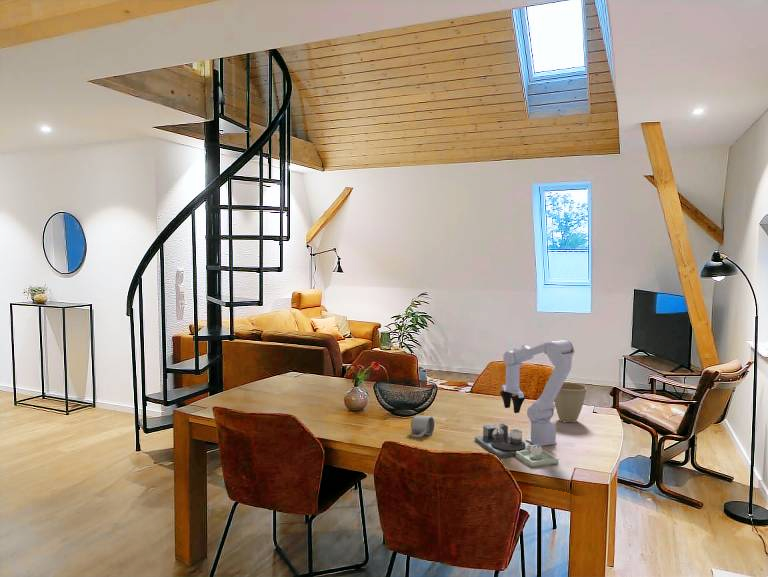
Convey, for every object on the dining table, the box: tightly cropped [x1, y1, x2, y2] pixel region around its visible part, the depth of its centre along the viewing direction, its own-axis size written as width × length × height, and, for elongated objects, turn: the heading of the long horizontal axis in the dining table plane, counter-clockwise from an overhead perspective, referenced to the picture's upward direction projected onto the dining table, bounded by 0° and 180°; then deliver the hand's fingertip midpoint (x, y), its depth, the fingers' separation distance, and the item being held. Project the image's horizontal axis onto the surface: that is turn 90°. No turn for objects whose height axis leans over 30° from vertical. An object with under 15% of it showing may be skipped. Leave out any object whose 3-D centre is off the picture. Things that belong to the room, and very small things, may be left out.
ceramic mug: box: [410, 415, 435, 439], centre depth 240 cm, size 11×8×8 cm
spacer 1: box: [510, 428, 523, 444], centre depth 224 cm, size 4×4×5 cm
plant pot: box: [553, 381, 587, 423], centre depth 259 cm, size 15×15×16 cm
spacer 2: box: [530, 444, 543, 461], centre depth 212 cm, size 4×4×5 cm
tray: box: [515, 448, 559, 468], centre depth 212 cm, size 11×11×2 cm
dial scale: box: [474, 423, 531, 459], centre depth 226 cm, size 16×20×6 cm
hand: (511, 410), depth 243 cm, fingers open, 7 cm apart
